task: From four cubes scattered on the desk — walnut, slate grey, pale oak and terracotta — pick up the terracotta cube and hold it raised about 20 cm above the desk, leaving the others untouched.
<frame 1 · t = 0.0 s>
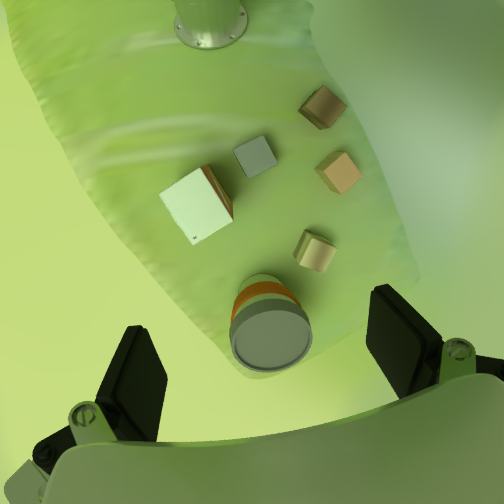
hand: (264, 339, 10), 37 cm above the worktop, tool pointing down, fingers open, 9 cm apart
walnut cube: (317, 110, 41), on the worktop
slate grey cube: (252, 156, 43), on the worktop
reusable coffee cup: (261, 294, 52), on the worktop
small box: (204, 192, 45), on the worktop
pale oak cube: (310, 246, 50), on the worktop
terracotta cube: (332, 171, 45), on the worktop
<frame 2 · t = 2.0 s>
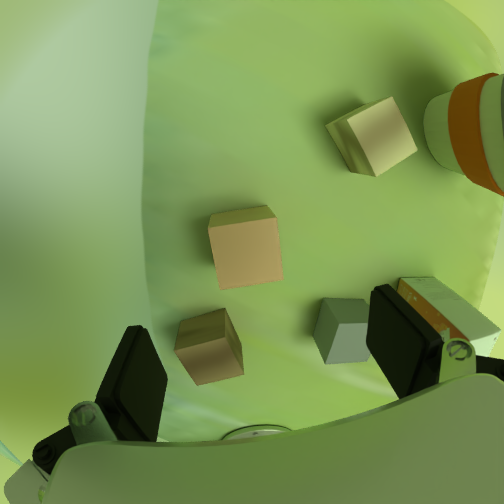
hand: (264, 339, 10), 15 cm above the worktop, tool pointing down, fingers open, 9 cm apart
walnut cube: (211, 332, 28), on the worktop
slate grey cube: (338, 317, 29), on the worktop
reusable coffee cup: (448, 132, 23), on the worktop
small box: (408, 304, 30), on the worktop
pale oak cube: (358, 137, 23), on the worktop
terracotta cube: (243, 236, 25), on the worktop
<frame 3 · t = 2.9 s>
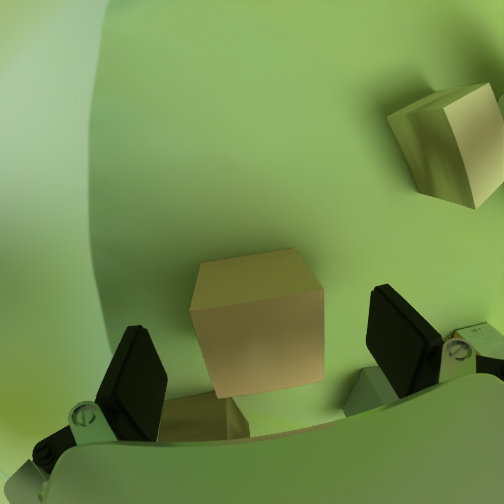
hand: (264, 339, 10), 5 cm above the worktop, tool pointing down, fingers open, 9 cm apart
walnut cube: (208, 413, 18), on the worktop
slate grey cube: (376, 385, 19), on the worktop
small box: (455, 357, 20), on the worktop
pale oak cube: (428, 139, 13), on the worktop
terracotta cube: (254, 296, 15), on the worktop
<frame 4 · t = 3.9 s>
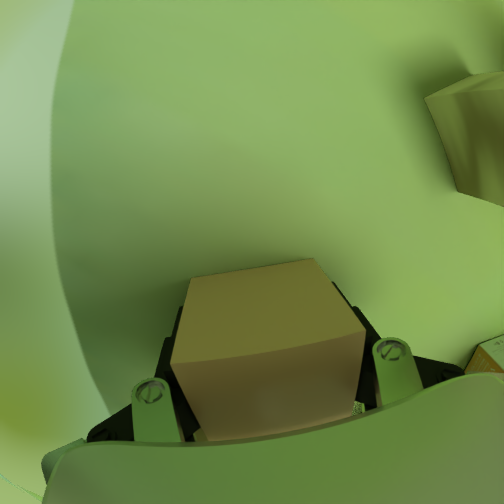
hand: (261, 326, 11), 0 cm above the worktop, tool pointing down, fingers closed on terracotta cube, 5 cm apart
small box: (474, 370, 17), on the worktop
pale oak cube: (467, 129, 9), on the worktop
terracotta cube: (260, 319, 12), on the worktop, touching gripper
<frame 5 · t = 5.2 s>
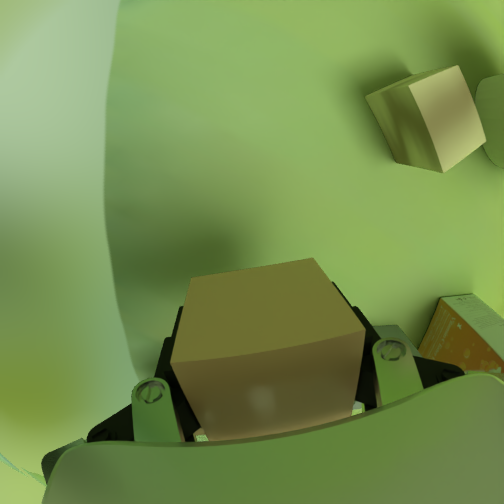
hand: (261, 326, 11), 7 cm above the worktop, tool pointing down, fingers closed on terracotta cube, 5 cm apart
slate grey cube: (365, 347, 22), on the worktop
reusable coffee cup: (497, 122, 15), on the worktop
small box: (442, 326, 23), on the worktop
pale oak cube: (405, 116, 15), on the worktop
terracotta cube: (260, 318, 12), point 6 cm above the worktop, touching gripper
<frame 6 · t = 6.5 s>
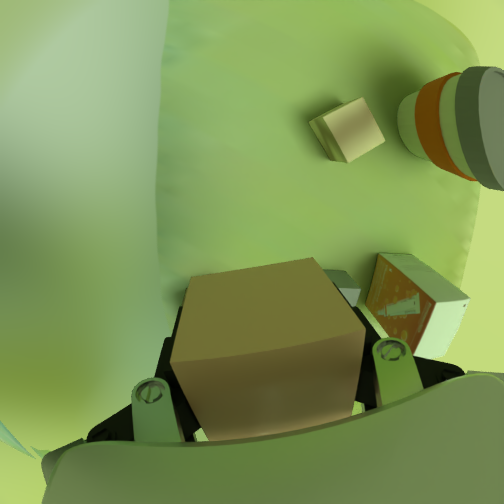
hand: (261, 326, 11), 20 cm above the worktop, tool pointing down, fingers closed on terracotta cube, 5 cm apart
slate grey cube: (323, 287, 34), on the worktop
reusable coffee cup: (421, 125, 27), on the worktop
small box: (387, 279, 35), on the worktop
pale oak cube: (336, 131, 27), on the worktop
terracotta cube: (260, 318, 12), point 19 cm above the worktop, touching gripper
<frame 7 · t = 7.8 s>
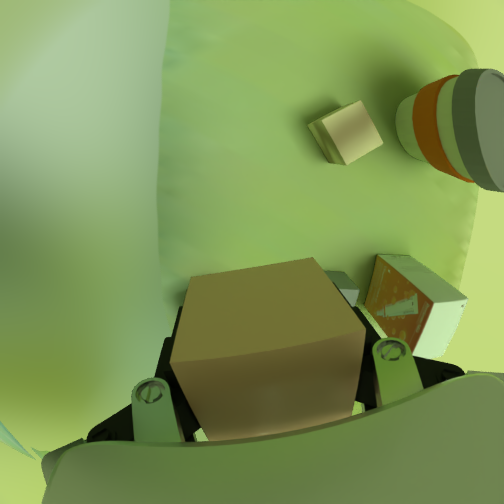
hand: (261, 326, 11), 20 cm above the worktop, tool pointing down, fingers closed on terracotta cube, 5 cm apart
slate grey cube: (322, 288, 35), on the worktop
reusable coffee cup: (420, 128, 28), on the worktop
small box: (386, 280, 35), on the worktop
pale oak cube: (335, 134, 28), on the worktop
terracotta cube: (260, 318, 12), point 20 cm above the worktop, touching gripper
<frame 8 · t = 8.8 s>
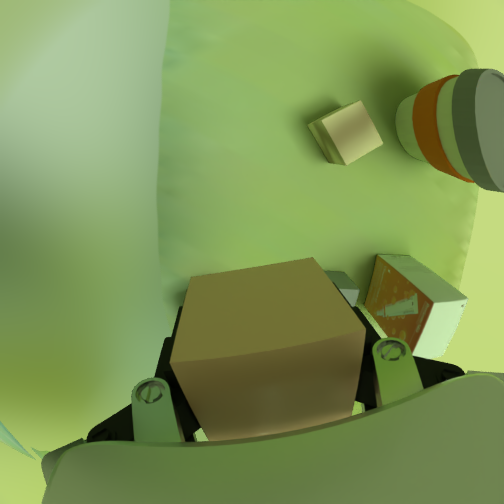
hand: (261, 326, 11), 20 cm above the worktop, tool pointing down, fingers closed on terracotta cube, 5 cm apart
slate grey cube: (322, 288, 35), on the worktop
reusable coffee cup: (420, 128, 28), on the worktop
small box: (386, 280, 35), on the worktop
pale oak cube: (335, 134, 28), on the worktop
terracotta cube: (260, 318, 12), point 20 cm above the worktop, touching gripper
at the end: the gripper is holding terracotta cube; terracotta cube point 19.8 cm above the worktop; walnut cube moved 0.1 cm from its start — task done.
